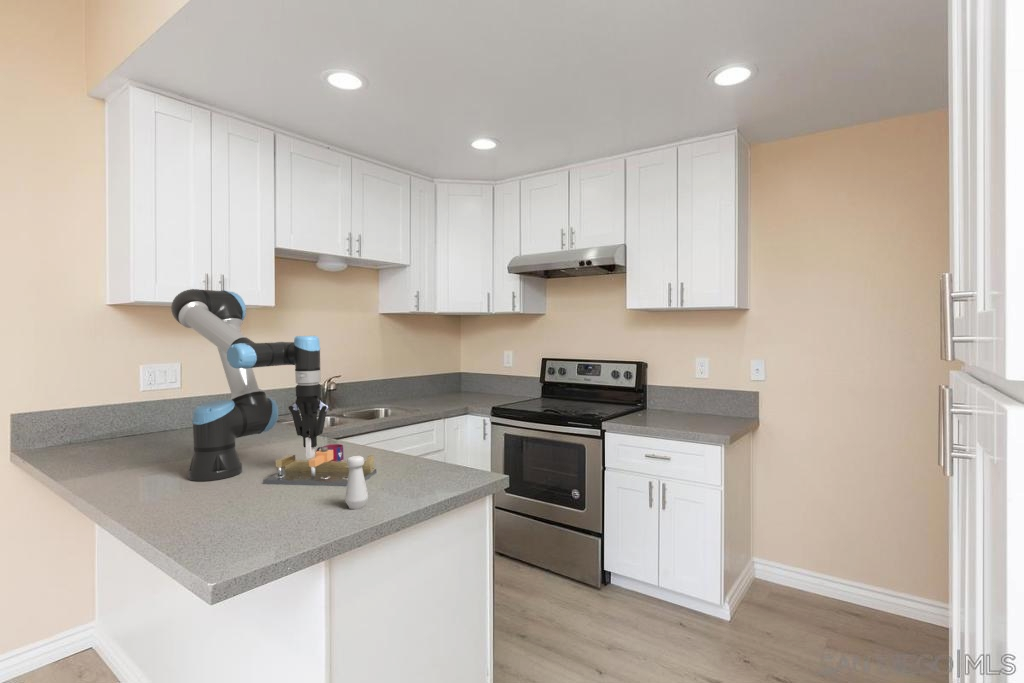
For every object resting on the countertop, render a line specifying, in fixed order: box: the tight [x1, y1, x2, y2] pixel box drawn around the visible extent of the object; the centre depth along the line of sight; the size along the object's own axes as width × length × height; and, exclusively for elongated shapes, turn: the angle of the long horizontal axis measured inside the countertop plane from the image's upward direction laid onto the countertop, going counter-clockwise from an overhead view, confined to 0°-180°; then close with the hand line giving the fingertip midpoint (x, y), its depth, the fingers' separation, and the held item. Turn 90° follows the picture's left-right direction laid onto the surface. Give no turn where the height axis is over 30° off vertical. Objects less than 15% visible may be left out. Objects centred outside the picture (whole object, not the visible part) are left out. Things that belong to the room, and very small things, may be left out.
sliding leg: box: [308, 446, 333, 476], centre depth 161 cm, size 4×10×7 cm, turn 172°
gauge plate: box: [262, 468, 377, 487], centre depth 159 cm, size 30×14×1 cm, turn 82°
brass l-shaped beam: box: [275, 454, 375, 476], centre depth 160 cm, size 29×9×5 cm, turn 82°
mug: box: [315, 443, 345, 461], centre depth 174 cm, size 7×10×7 cm
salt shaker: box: [344, 455, 369, 510], centre depth 133 cm, size 6×6×13 cm
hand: (310, 457), depth 164 cm, fingers closed
